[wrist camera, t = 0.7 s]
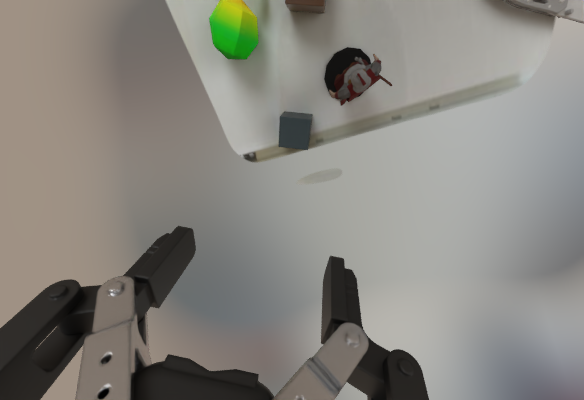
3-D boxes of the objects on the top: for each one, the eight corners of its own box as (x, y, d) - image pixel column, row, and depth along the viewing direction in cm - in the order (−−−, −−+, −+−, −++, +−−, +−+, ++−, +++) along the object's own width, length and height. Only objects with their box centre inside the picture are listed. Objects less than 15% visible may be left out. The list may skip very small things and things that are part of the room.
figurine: (356, 34, 30) (379, 12, 18) (383, 83, 33) (421, 94, 20) (315, 71, 33) (309, 74, 20) (342, 113, 35) (353, 140, 23)
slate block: (284, 111, 36) (280, 116, 33) (312, 114, 36) (311, 119, 33) (282, 139, 39) (278, 146, 35) (309, 142, 38) (307, 150, 35)
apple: (216, 60, 27) (233, -40, 23) (194, 44, 30) (206, -46, 26) (263, 74, 32) (285, -5, 28) (240, 60, 35) (257, -14, 31)
